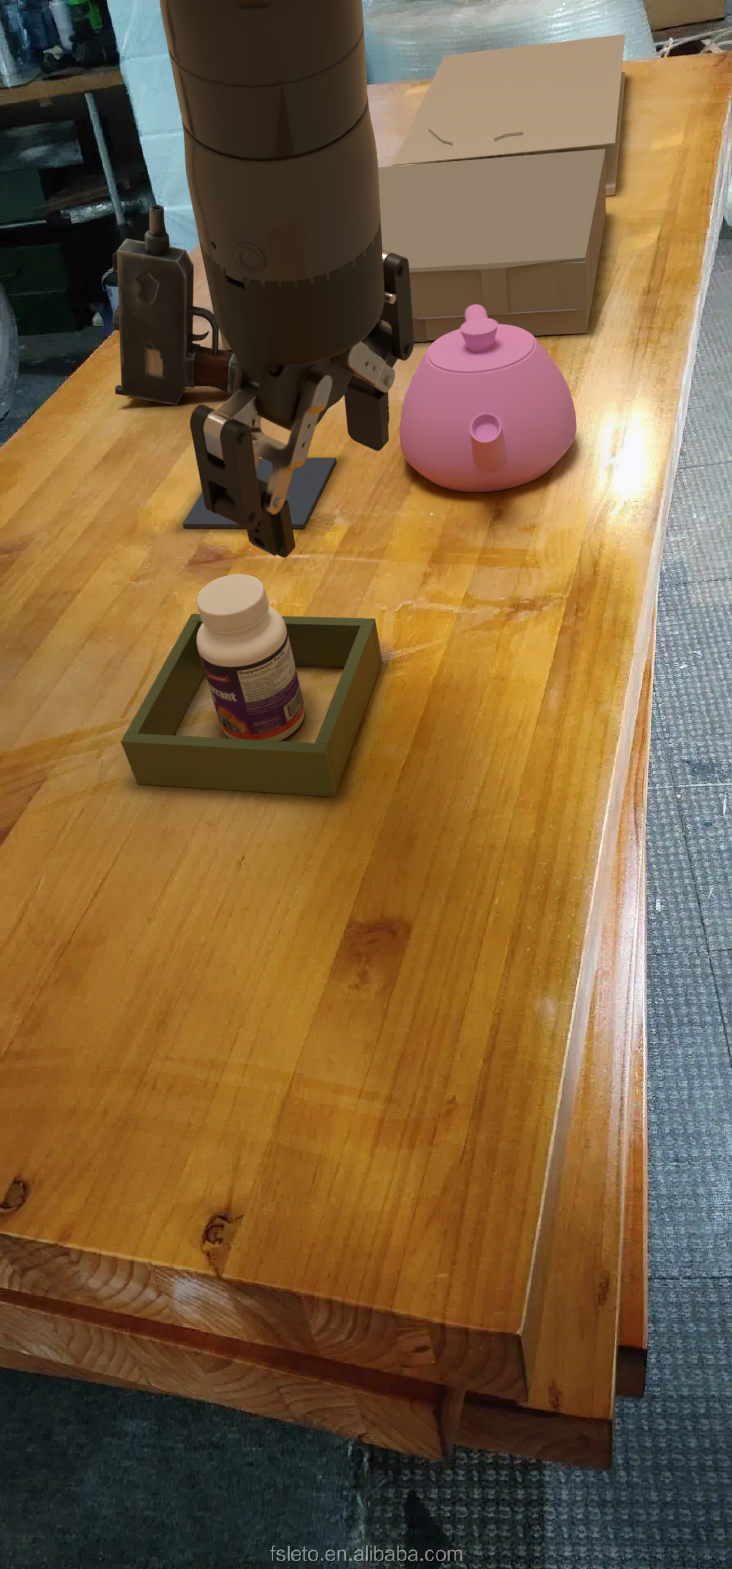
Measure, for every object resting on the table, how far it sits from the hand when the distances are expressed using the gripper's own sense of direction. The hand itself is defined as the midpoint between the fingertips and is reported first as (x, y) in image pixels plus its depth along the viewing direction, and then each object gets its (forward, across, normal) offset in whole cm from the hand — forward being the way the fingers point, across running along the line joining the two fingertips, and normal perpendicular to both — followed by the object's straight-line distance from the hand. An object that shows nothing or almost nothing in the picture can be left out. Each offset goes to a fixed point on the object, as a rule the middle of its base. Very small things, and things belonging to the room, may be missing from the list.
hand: (322, 493), depth 63 cm
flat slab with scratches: (+46, -94, -41) cm, 112 cm away
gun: (+31, -26, -35) cm, 54 cm away
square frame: (+16, +6, -2) cm, 17 cm away
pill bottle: (+16, +6, -2) cm, 18 cm away
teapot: (+24, -27, -5) cm, 36 cm away
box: (+35, -54, -29) cm, 71 cm away
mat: (+25, -15, -19) cm, 35 cm away
